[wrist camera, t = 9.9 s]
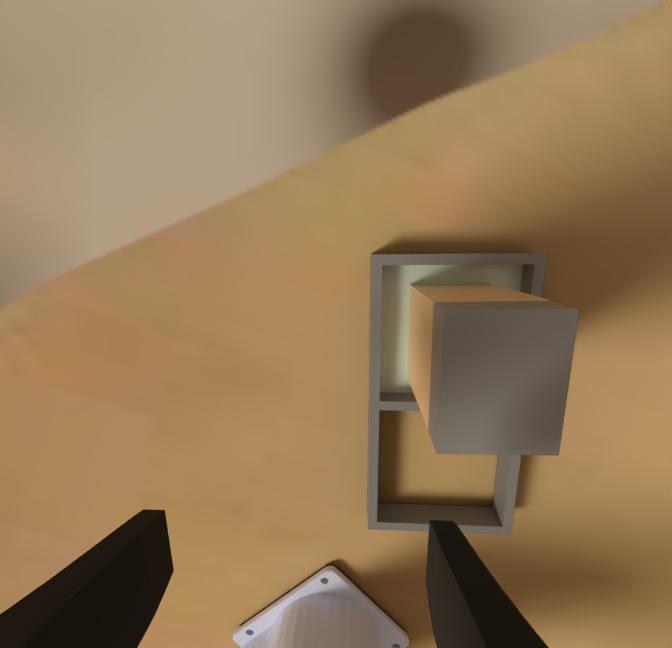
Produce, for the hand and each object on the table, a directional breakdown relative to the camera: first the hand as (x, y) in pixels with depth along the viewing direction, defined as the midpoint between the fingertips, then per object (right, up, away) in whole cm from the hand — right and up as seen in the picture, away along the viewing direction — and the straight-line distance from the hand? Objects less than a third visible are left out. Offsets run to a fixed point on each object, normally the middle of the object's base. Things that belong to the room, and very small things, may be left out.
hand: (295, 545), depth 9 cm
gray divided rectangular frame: (+7, +2, +10) cm, 12 cm away
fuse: (+7, +6, +9) cm, 12 cm away
